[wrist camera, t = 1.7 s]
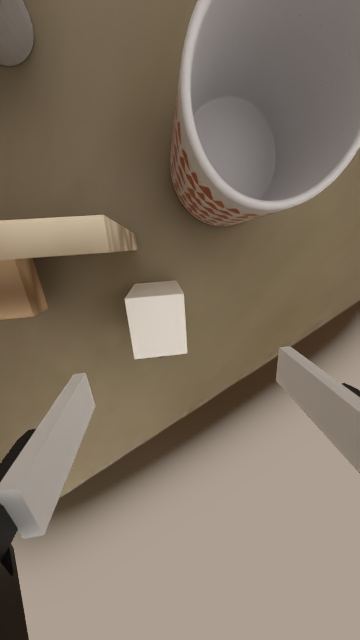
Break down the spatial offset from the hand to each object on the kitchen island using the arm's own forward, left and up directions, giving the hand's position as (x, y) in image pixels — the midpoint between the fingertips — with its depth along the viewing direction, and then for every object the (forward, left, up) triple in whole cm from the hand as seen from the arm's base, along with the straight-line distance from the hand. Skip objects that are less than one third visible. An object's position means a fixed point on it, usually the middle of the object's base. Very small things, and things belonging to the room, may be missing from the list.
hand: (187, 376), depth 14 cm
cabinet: (0, -2, -18) cm, 18 cm away
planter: (-17, +8, -18) cm, 26 cm away
